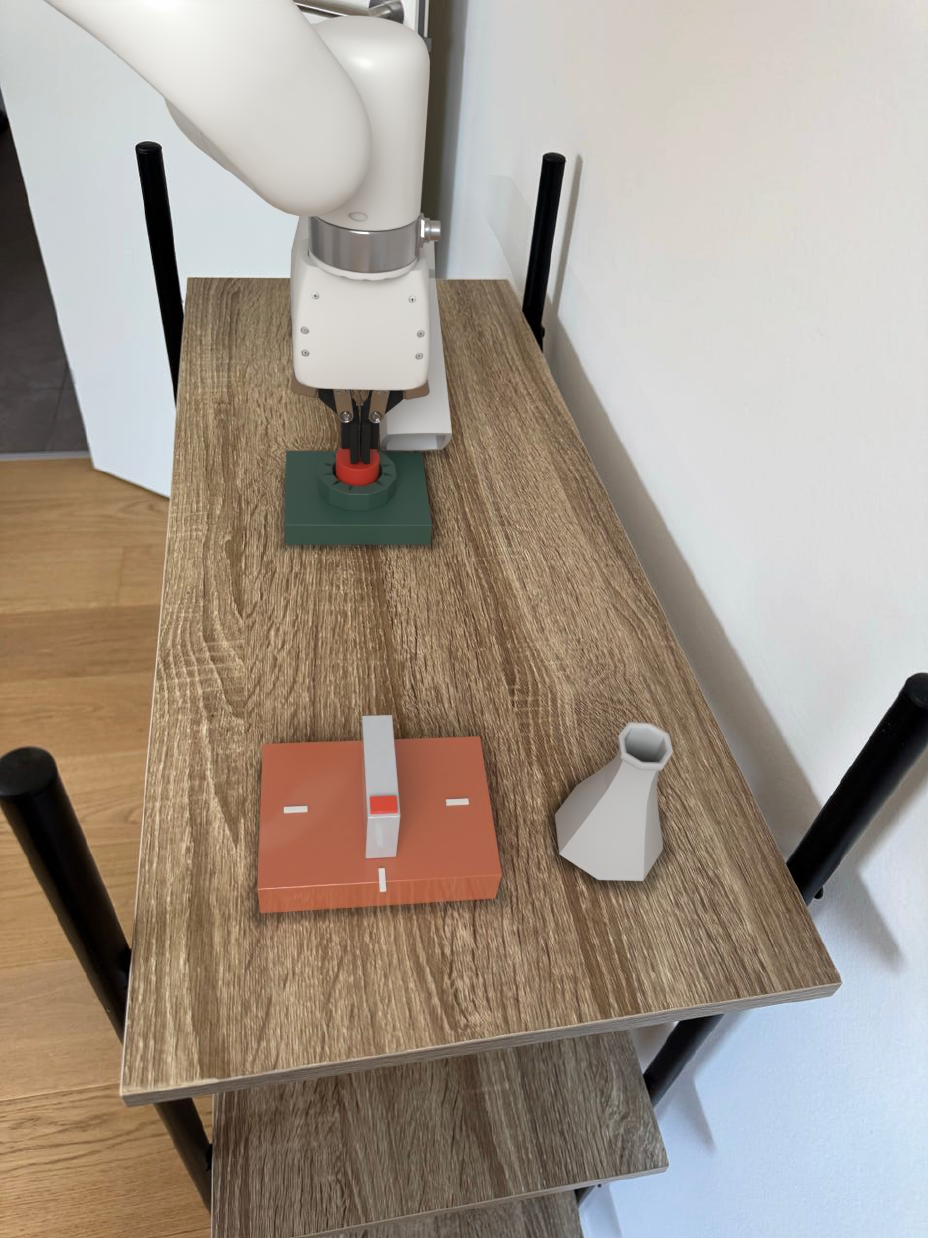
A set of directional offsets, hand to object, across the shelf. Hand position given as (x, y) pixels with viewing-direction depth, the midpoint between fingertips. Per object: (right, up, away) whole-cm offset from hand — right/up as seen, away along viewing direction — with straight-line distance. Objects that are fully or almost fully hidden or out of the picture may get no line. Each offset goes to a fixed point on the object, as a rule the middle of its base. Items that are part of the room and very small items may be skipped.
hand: (359, 453), depth 75 cm
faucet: (+2, +7, +15) cm, 17 cm away
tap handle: (+3, -25, -20) cm, 32 cm away
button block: (-1, -4, +4) cm, 6 cm away
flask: (+18, -28, -16) cm, 37 cm away
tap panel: (+3, -27, -18) cm, 33 cm away
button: (0, -1, +1) cm, 2 cm away
